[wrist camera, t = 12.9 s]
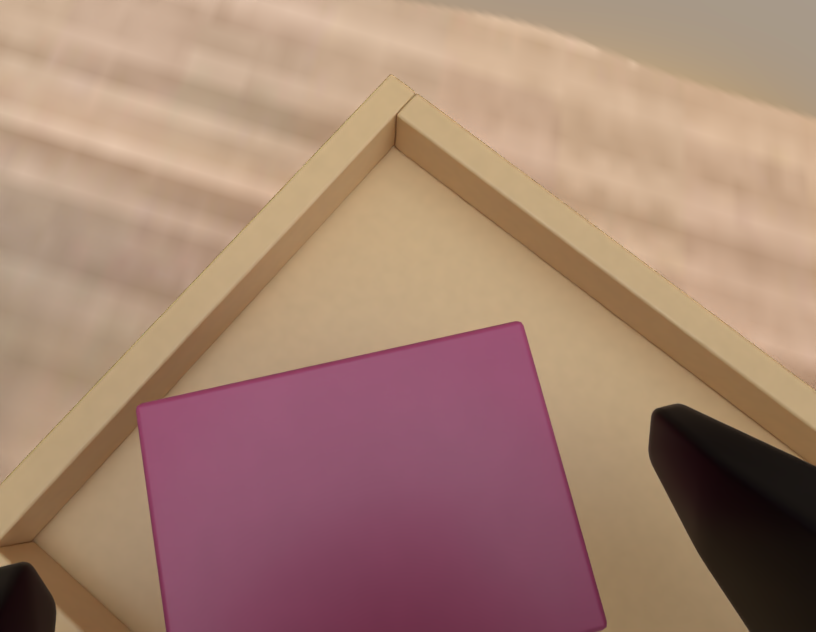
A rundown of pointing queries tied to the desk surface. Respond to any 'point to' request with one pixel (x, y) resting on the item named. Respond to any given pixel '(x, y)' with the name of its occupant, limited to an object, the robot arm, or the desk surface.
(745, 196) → the desk surface
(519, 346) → the mulberry block
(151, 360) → the tray
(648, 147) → the desk surface
